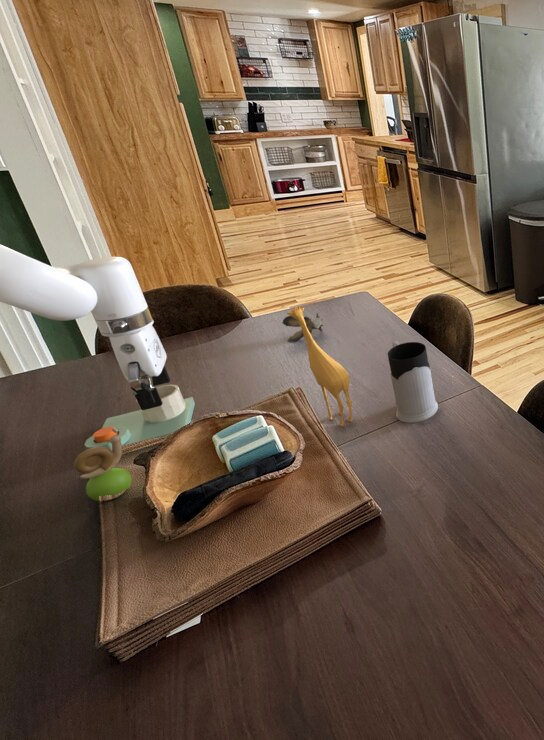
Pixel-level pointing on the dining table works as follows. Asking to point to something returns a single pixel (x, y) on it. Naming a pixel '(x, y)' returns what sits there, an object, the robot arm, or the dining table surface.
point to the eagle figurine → (294, 322)
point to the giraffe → (325, 368)
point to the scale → (143, 426)
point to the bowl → (165, 405)
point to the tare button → (103, 434)
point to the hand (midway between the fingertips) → (156, 395)
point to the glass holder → (412, 382)
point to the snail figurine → (103, 469)
